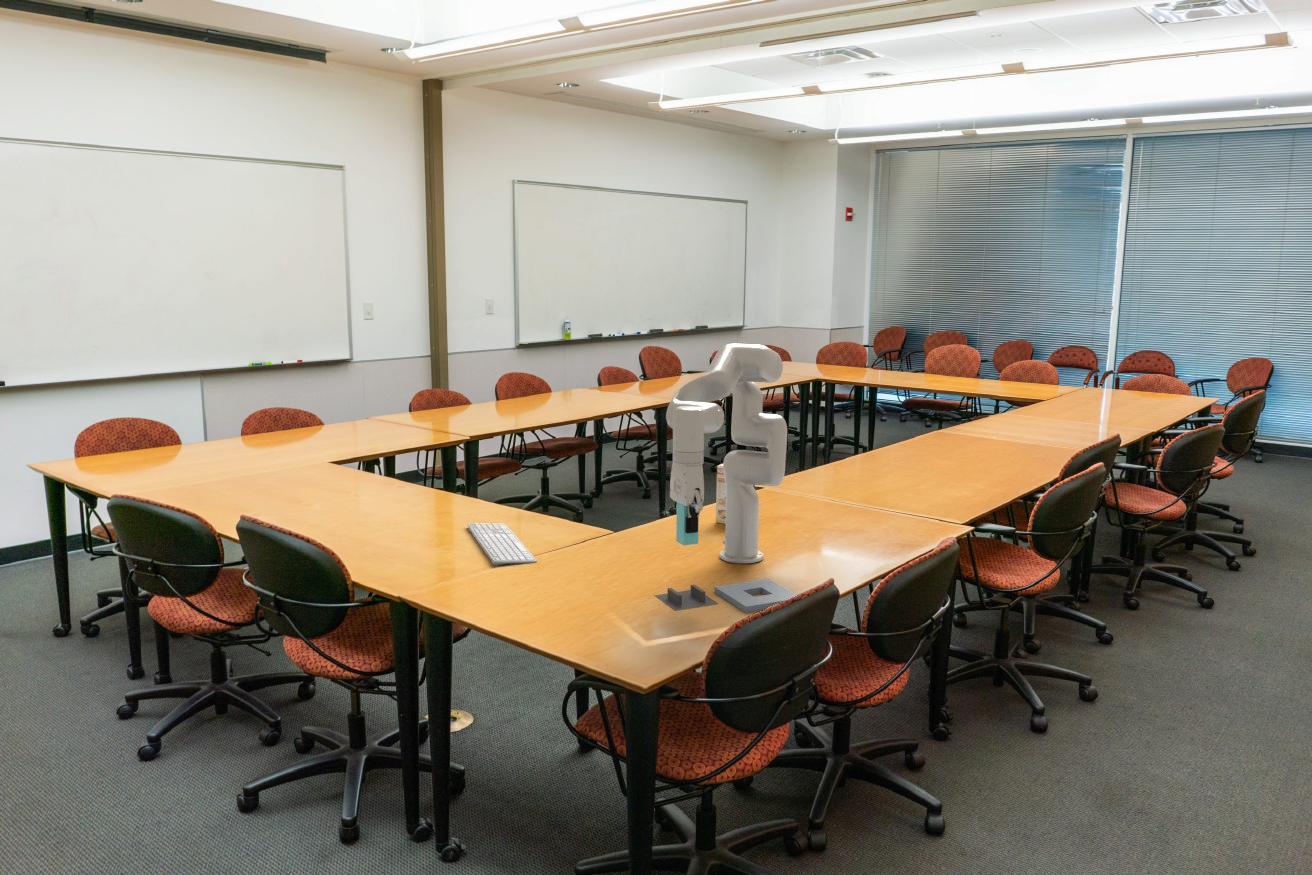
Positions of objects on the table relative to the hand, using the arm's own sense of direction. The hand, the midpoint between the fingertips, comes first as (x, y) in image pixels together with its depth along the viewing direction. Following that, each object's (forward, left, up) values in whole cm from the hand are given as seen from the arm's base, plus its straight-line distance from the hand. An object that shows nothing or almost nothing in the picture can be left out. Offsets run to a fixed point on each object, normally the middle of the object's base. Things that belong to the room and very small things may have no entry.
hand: (687, 529), depth 227 cm
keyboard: (-70, -28, -20) cm, 78 cm away
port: (+6, +17, -19) cm, 26 cm away
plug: (0, 0, -3) cm, 3 cm away
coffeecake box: (-67, +52, -19) cm, 87 cm away
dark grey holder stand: (0, 0, -19) cm, 19 cm away
